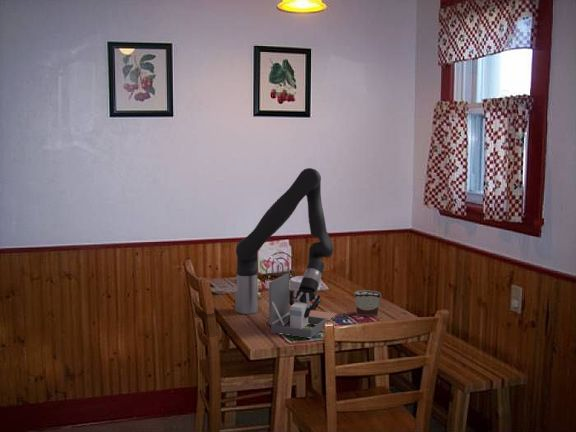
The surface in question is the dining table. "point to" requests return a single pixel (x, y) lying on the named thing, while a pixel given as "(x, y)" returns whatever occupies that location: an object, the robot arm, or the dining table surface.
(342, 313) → the dining table surface
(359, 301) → the food container
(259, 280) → the cat figure
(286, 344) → the dining table surface
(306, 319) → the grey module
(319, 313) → the terracotta mat
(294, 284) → the paper bowls
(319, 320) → the equipment case
